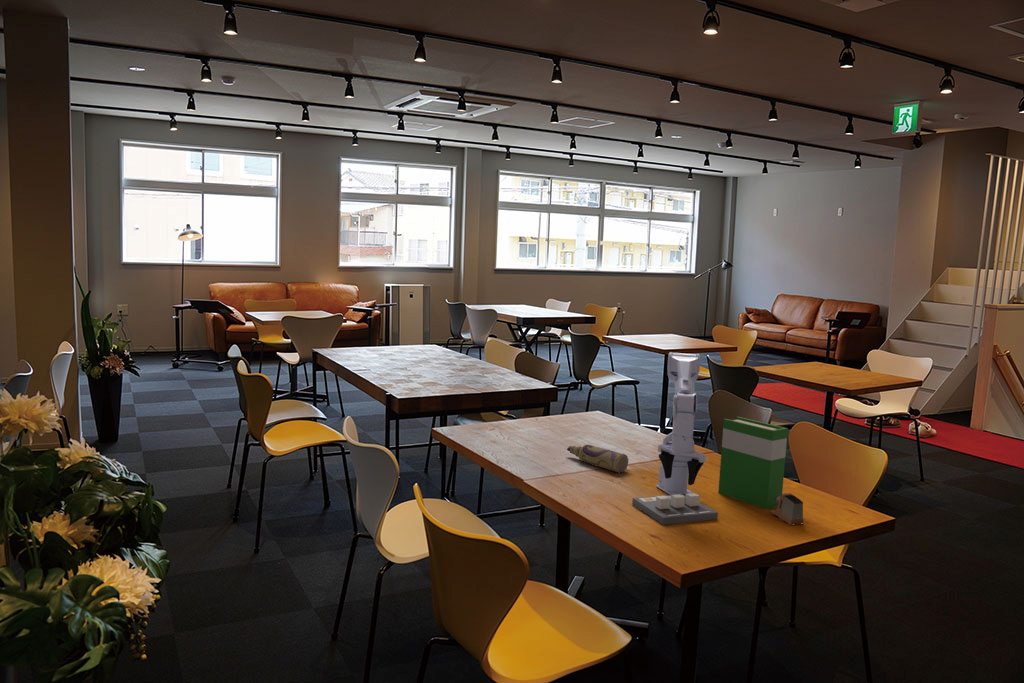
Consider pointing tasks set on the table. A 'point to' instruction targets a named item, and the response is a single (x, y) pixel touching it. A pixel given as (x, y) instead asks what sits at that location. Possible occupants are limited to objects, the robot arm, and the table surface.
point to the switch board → (674, 511)
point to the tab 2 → (692, 499)
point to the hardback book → (752, 461)
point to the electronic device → (789, 509)
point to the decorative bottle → (601, 457)
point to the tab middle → (677, 501)
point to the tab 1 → (662, 502)
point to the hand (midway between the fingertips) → (679, 481)
